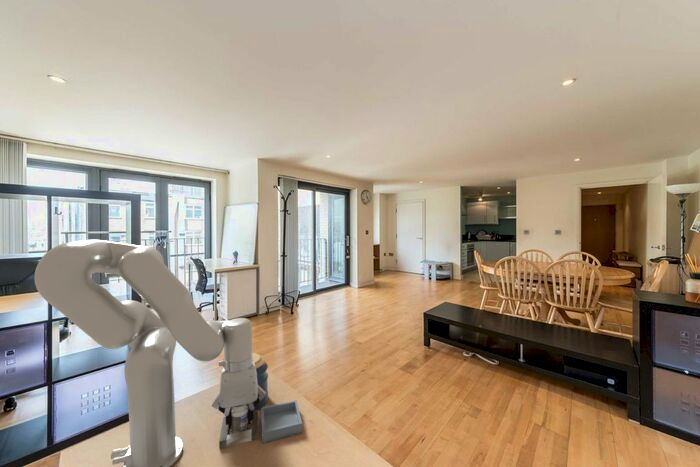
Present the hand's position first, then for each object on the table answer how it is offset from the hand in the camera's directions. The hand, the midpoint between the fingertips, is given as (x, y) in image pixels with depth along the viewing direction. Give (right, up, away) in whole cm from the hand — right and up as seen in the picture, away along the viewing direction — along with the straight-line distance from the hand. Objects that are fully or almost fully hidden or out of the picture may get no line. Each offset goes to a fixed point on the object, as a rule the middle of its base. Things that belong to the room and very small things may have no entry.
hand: (240, 422), depth 80 cm
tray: (+11, -2, +2) cm, 12 cm away
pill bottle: (0, -3, 0) cm, 3 cm away
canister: (-2, -2, +13) cm, 13 cm away
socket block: (0, -2, 0) cm, 2 cm away
